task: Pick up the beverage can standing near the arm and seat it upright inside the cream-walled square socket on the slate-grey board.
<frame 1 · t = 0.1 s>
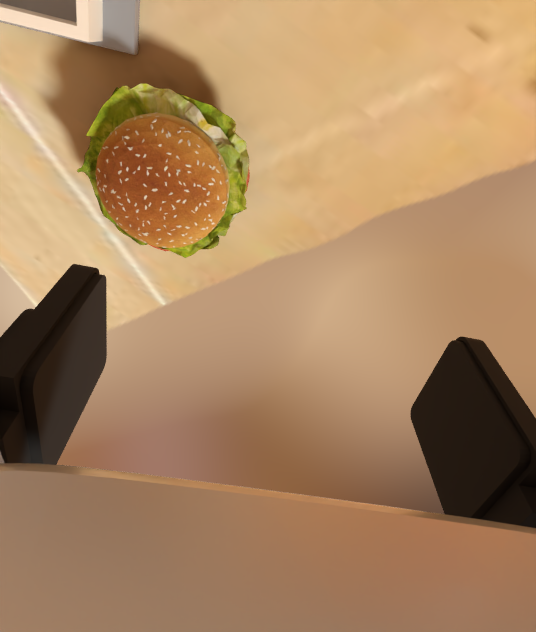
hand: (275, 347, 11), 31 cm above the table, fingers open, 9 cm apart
food: (178, 162, 39), on the table
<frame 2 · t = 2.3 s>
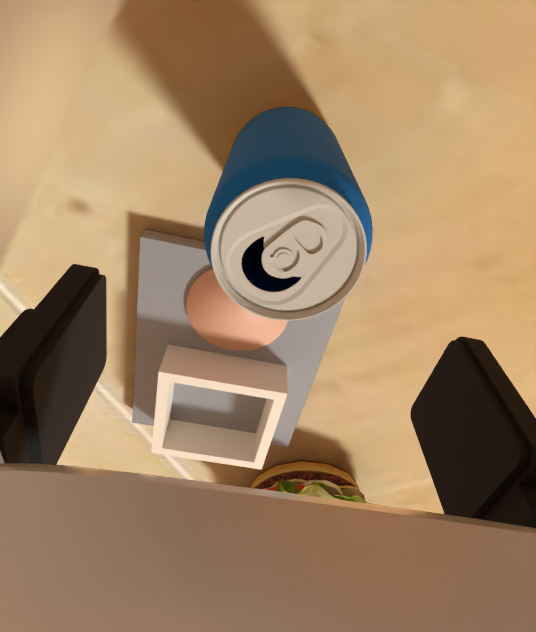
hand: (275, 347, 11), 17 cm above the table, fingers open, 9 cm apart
food: (306, 487, 44), on the table
board: (228, 351, 33), on the table
beverage can: (285, 163, 25), on the table
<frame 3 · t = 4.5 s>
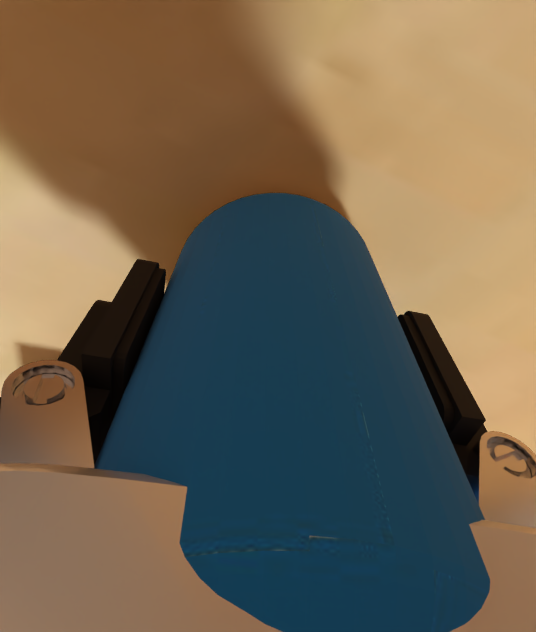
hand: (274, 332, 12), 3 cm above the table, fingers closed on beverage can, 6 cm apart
beverage can: (274, 274, 15), on the table, touching gripper
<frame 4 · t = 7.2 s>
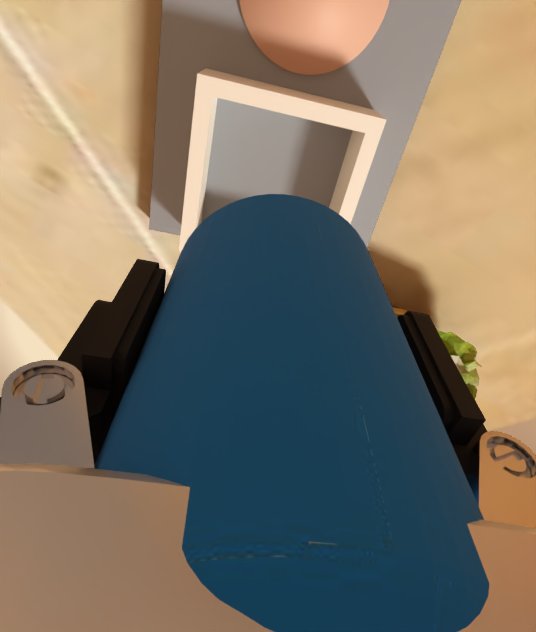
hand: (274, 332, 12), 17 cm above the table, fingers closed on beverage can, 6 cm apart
food: (369, 355, 34), on the table
board: (288, 98, 24), on the table
beverage can: (274, 275, 15), point 13 cm above the table, touching gripper
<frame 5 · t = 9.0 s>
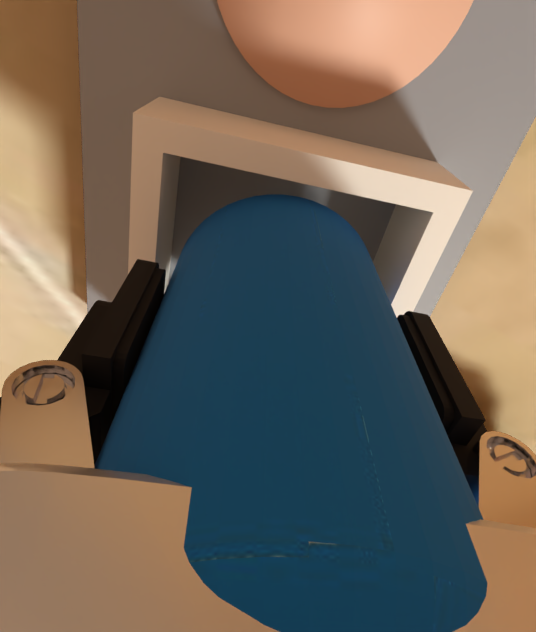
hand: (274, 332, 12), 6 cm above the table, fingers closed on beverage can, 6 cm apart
board: (297, 141, 15), on the table
beverage can: (274, 276, 15), point 3 cm above the table, touching gripper
when the fingers open (6 cm above the table, at t = 10.0 s): beverage can drops 1 cm, resting on board.
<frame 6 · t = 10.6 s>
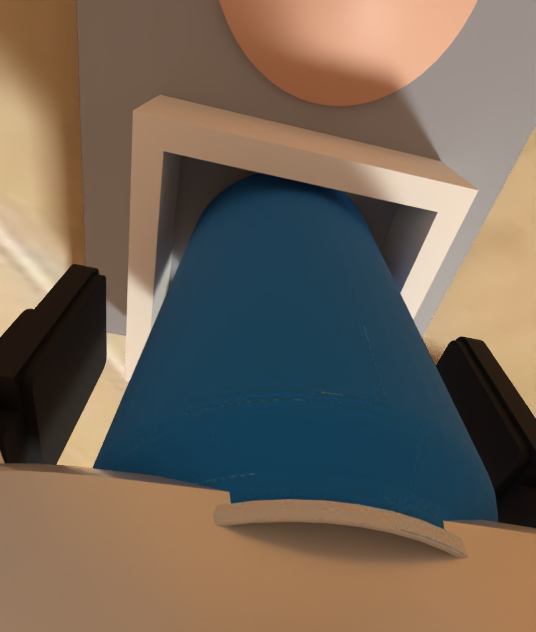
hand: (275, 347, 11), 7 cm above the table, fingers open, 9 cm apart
board: (299, 140, 15), on the table
beverage can: (280, 251, 16), point 1 cm above the table, touching board
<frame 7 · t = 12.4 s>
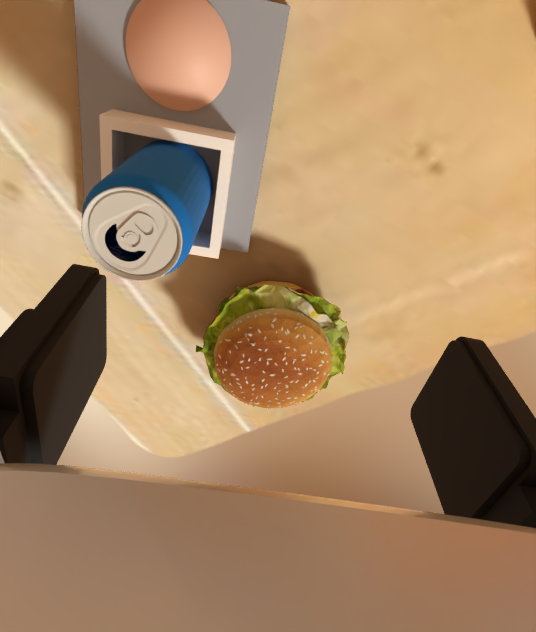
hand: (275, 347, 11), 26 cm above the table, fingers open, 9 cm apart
food: (274, 323, 43), on the table
board: (177, 127, 33), on the table
beverage can: (174, 179, 34), point 1 cm above the table, touching board
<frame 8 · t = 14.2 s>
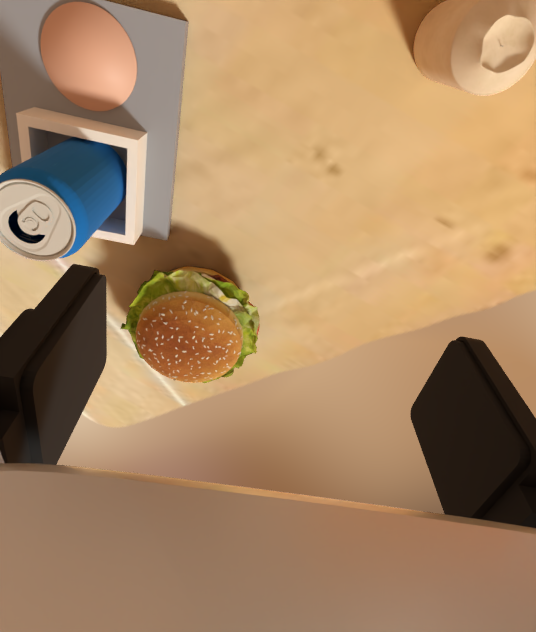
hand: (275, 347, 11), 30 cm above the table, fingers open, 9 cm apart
food: (199, 306, 47), on the table
candle: (447, 41, 33), on the table
board: (96, 124, 36), on the table
beverage can: (95, 171, 38), point 1 cm above the table, touching board
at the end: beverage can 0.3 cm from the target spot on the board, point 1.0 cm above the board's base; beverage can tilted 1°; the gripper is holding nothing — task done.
